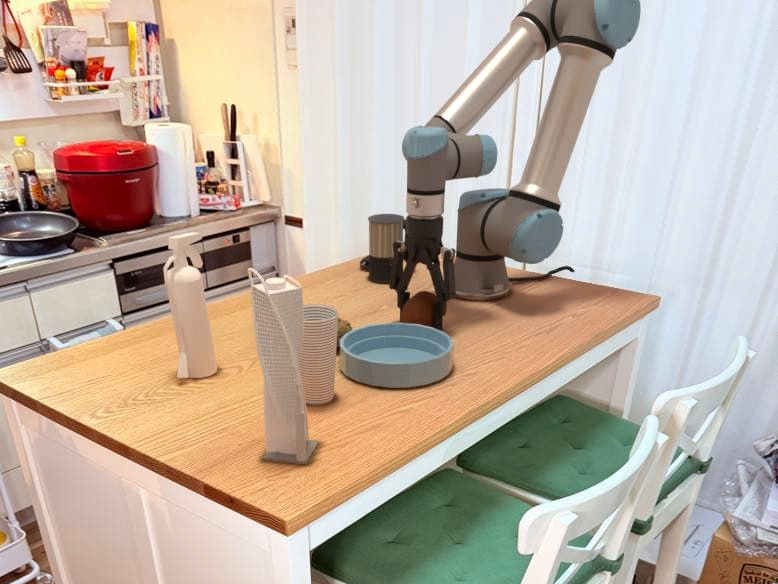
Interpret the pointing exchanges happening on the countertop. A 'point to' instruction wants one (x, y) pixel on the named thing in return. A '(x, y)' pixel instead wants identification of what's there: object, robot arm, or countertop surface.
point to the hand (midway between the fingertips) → (420, 326)
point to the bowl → (396, 355)
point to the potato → (419, 309)
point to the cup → (319, 353)
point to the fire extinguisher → (189, 309)
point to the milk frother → (383, 245)
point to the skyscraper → (281, 367)
